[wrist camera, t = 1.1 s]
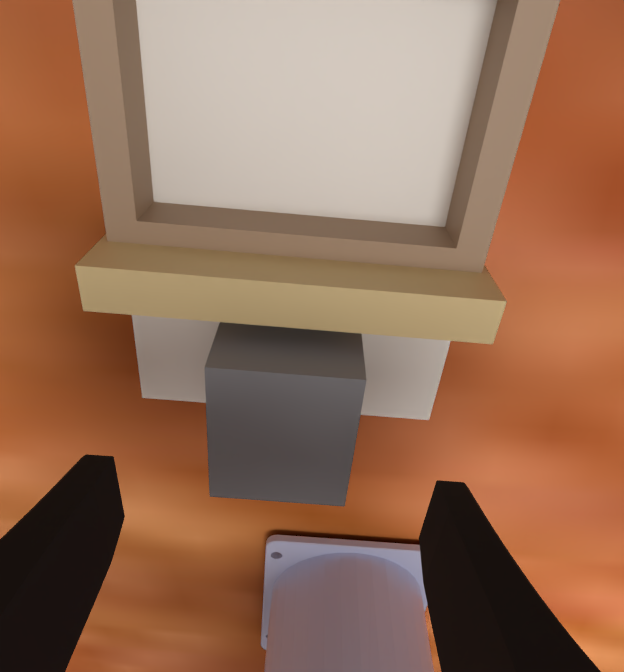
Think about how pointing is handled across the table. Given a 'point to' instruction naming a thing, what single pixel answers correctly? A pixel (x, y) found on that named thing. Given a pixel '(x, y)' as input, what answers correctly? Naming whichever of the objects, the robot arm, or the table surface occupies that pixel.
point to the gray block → (283, 412)
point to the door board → (305, 175)
